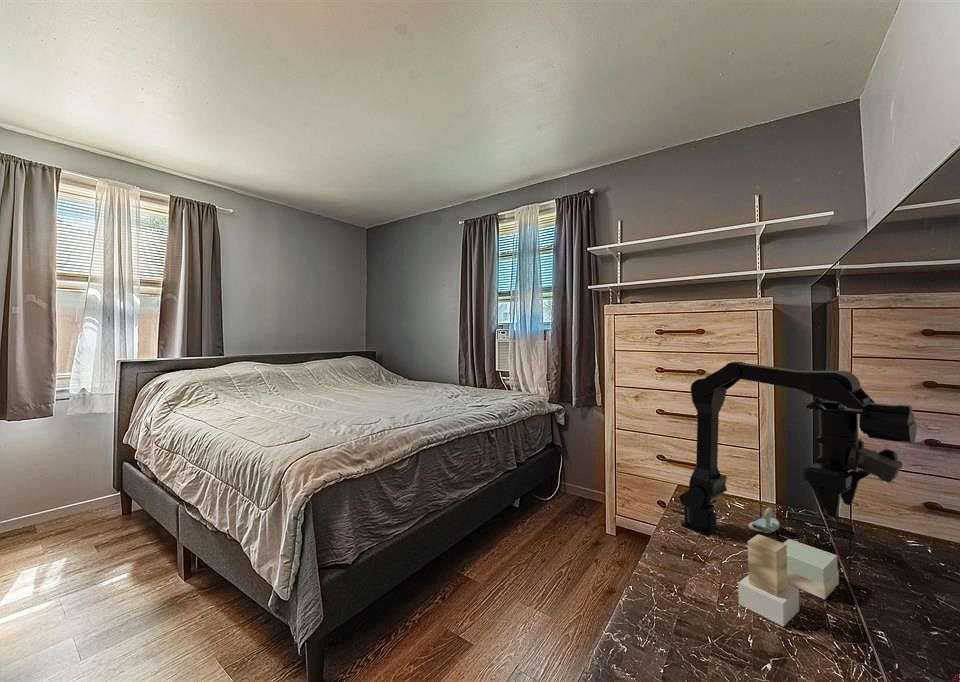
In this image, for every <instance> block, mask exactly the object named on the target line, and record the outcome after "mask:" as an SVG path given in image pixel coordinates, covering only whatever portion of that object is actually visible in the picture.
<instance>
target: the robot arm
mask: <svg viewBox="0 0 960 682" xmlns="http://www.w3.org/2000/svg"><path fill="white" fill-rule="evenodd" d="M740 380H745V381H749V382H750V381H751V382H757V383H762V384H767V385H772V386H773V385H774V386H778V387H779V386H780V387H783V388H789V389H795V390H798V391H801V392H804V393H806V394H807V395H810V396H813V397H815V398H814V399H813V400H812V402H810V403H808V404H807V405H805V408H806V409H808V410H816V411H818V412H819V413H818V416H819V417H818V418H819V436H816V437H815V439H816V440H815V441H816V443H818V444H819V450H820V451H819V454H820V455H819V456H817V457H816V463H815V462H814V463H813V464H812V465H809V466H808V467H806V468H805V469H803V480H804V481H806V482H807V484H808V485H810V486H811V488H812V489H813V491H814V493H815V494H816V496H817V498H818V499H819V501H820V502H821V505H822V507H824V510H825V511H826V513H827V515H828V516H829V517H833V518H837V517H838V513H839V508H840V505H841V500H842V503H844V504H845V505H847V506H852V505H853V502H854V498H855V497H856V493H857V490H858V486H859V484H860V480H863V479H864V478H866V477H868V476H869V475H873V476H876V477H878V478H879V480H882V481H883V482H884V481H885V482H888V483H891V482H893V480H895V479H896V478H897V476H898V474H899V472H900V470H901V469H902V468H903V467H902V466H903V463H902V462H903V461H901V460H898V459H899V458H898V454H897V452H896V451H894V450H892V449H890V448H884V449H883V450H880V451H879V452H877V450H875V449H873V450H871V449H868V448H866V447H865V443H864V441H863V440H862V438H859V430H860V431H861V432H862V434H865V435H866V436H867V437H868V438H869V439H877V440H883V441H889V442H898V443H905V444H909V445H910V444H912V445H914V443H915V441H916V439H917V431H918V430H917V429H918V428H917V422H916V421H915V415H914V413H913V406H912V405H906V404H895V405H894V404H886V403H885V404H883V403H876V402H875V401H874V399H873V398H872V397H870V395H868V394H867V392H865V390H863V388H862V387H861V382H860V380H859V378H858V377H857V375H854V373H852V372H850V371H846V370H796V369H789V368H783V367H777V366H768V365H762V364H761V365H760V364H754V363H747V362H744V361H731V362H729V363H727V364H726V365H724V366H723V367H721V368H720V369H718V370H716V371H714V372H713V373H711V374H709V375H707V376H705V378H699V379H696V380H694V381H693V382H692V383H691V385H690V394H691V401H692V403H693V405H694V408H695V410H696V413H697V417H696V420H697V423H696V425H697V426H696V459H695V460H696V463H695V467H694V469H693V472H692V473H691V476H690V477H689V478H690V479H689V484H688V490H686V491H685V492H683V493H682V494H680V495H679V497H678V498H679V501H680V505H682V506H684V507H683V510H684V513H683V514H684V521H682V522H681V524H680V525H681V526H682V527H683V528H684V527H685V528H687V529H689V530H692V531H694V532H697V533H699V534H701V535H705V536H706V535H707V536H708V535H709V534H710V533H712V532H714V531H716V530H717V529H718V528H719V526H718V525H717V512H715V506H714V505H713V504H715V503H717V500H718V499H720V498H721V497H723V495H724V493H725V492H727V491H728V489H727V484H726V483H727V478H728V476H727V475H725V474H721V472H720V470H719V468H718V458H719V457H718V452H719V451H718V450H719V447H718V446H719V416H720V411H721V410H722V407H723V405H724V403H725V400H726V395H727V391H728V389H730V388H732V387H733V386H734V385H736V384H737V383H738V382H739V381H740Z"/></svg>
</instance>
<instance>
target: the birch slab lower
mask: <svg viewBox="0 0 960 682" xmlns="http://www.w3.org/2000/svg"><path fill="white" fill-rule="evenodd" d="M839 573H840V571H839V570H837V571H836V572H835V573H834V575H833V576H832V577H831V578H830V579H829V580H828V581H827V582H826V583H825V584H824V585H823V584H820V583H818V582H815V581H813V580H810V579H808V578H805V577H803V576H800V575H798V574H795V573H793V572H790V571H788V570H787V581H788V584H789V585H791V586H794V587H796V588H798V589H799V590H802V591H804V592H807V593H809V594H812V595H814V596H816V597H818V598H820V599H823V600H826V599H827V598H828V597H829V595H831V593H832V592H833V591H834V590H835V589H836V588H837V587H838V586H839V585H840V581H839V580H840V575H839ZM837 585H838V586H837ZM836 586H837V587H836ZM835 587H836V588H835Z"/></svg>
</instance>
